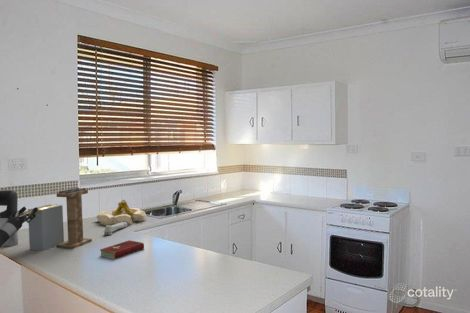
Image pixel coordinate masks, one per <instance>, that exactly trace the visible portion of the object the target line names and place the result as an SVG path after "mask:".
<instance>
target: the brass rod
mask: <svg viewBox="0 0 470 313" xmlns="http://www.w3.org/2000/svg"><path fill="white" fill-rule="evenodd" d="M50 205H51V206H47V207H42V208H38V211H37V212H36V213H35V214H39V210H41V209H45V208H49V207H54V206H58V205H59V204H57V203H56V204H50ZM31 211H32V210H29V211H28V210H25V211H24V212H22V213H21V214H25V213H29V212H31ZM29 215H30V214H29ZM26 217H28V216H27V215H26Z"/></svg>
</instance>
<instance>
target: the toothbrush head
mask: <svg viewBox="0 0 470 313" xmlns="http://www.w3.org/2000/svg"><path fill="white" fill-rule="evenodd" d="M127 227H128V225H127V222H121V223H118V224H115V223H113V224H112V225H109V226H106V225H105V229H104V230H103V236H109V235H110V236H112V235H113V231H115V230H118V229H125V228H127Z"/></svg>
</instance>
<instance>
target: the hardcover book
mask: <svg viewBox="0 0 470 313" xmlns="http://www.w3.org/2000/svg"><path fill="white" fill-rule="evenodd" d="M144 249H145V243H144V242H140V241H135V240H130V239H129V240H125V241H123V242H119V243H117V244H113V245H110V246H107V247H103V248H100V249H99V251H100V256H102V257H105V258H109V257H110V259H113V260H116V259H117V260H118V259H119V258H122V257H125V256H128V255H130V254H133V252H134V253H136V252H139V251H142V250H144Z"/></svg>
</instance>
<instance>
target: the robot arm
mask: <svg viewBox="0 0 470 313" xmlns="http://www.w3.org/2000/svg"><path fill="white" fill-rule="evenodd" d="M18 198H19V197H18V193H17V192H16V191H15V190H12V189H11V190H9V189H8V190H7V189H6V190H5V189H4V190H0V206H2V207H3V206H4V207H5V206H6V209H5V210H3V211H1V212H0V248H3V247H5V248H6V247H7V248H8V247H12V246H17V245H18V244H19V234H18V233H19V230H21V228H22V227H23V224H24V223H25V222H26V223H27V224H29V222H30V221H31V220H32V219H33V218H35V217H36V215H35V213H36V212H37V211H38V209H37V207H38V206H37V207H36V206H35V207H33V208H34V209H33V210H32V211H31V212H29V213H25V214H21V213H22V212H25V211H27V208H26V206H22V208H20V209H19V210H18V202H19V200H18ZM29 214H30V215H29ZM26 215H27V217H26ZM32 216H33V217H32Z"/></svg>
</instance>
